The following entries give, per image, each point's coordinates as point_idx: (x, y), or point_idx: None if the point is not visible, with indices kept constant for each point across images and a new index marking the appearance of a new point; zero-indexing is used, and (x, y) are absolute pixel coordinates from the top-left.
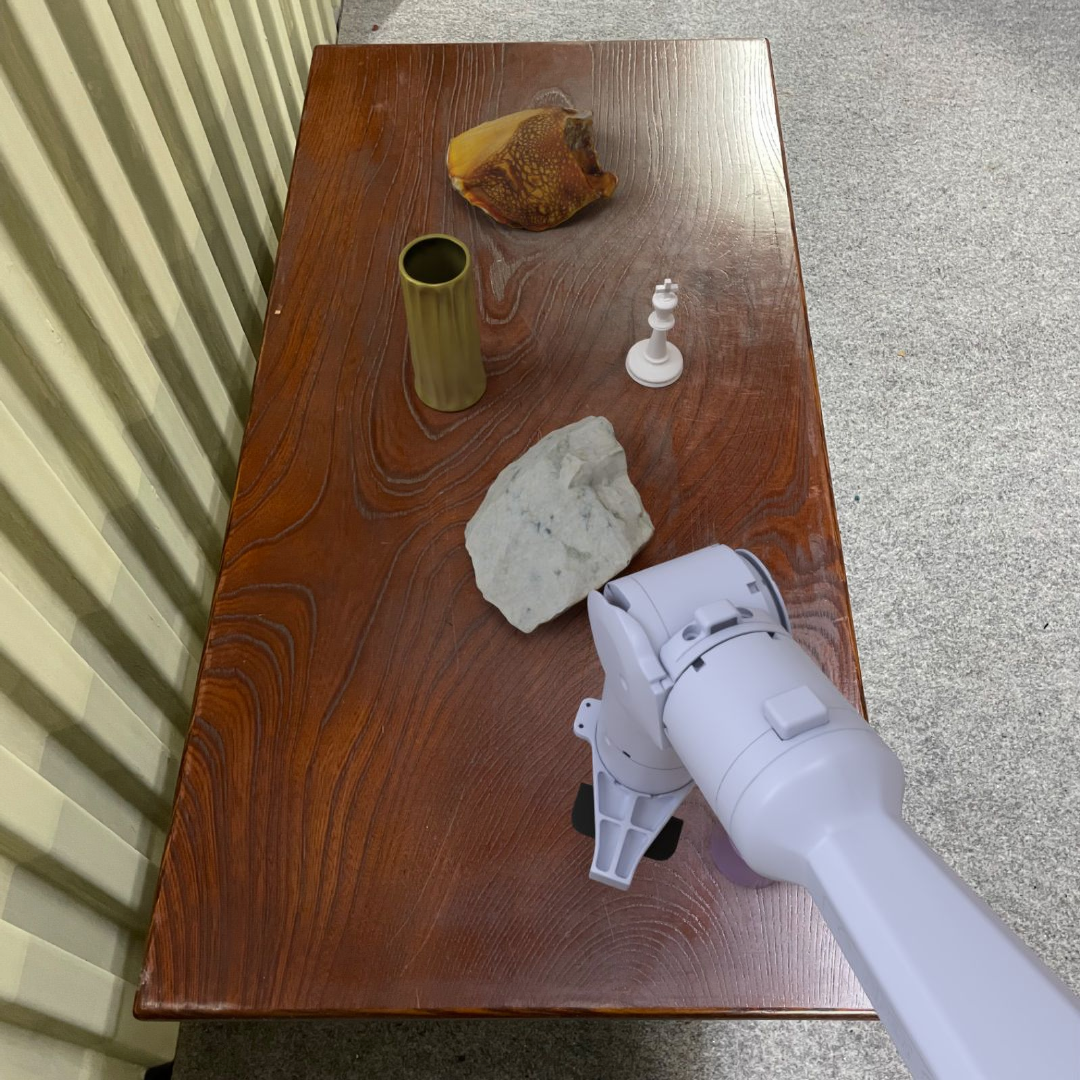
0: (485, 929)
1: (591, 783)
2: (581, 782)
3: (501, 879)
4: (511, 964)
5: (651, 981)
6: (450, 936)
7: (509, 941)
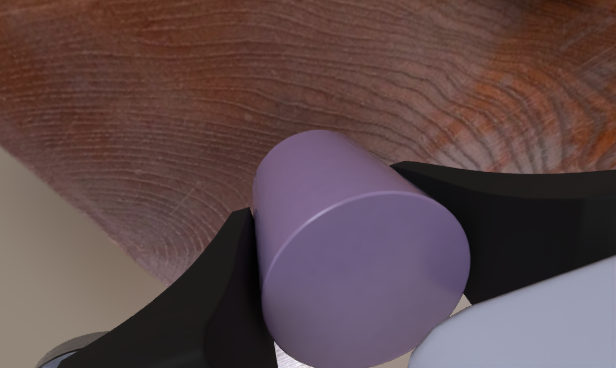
0: (60, 85)
1: (291, 138)
2: (202, 348)
3: (127, 66)
4: (57, 138)
5: (166, 260)
6: (10, 47)
7: (75, 120)
